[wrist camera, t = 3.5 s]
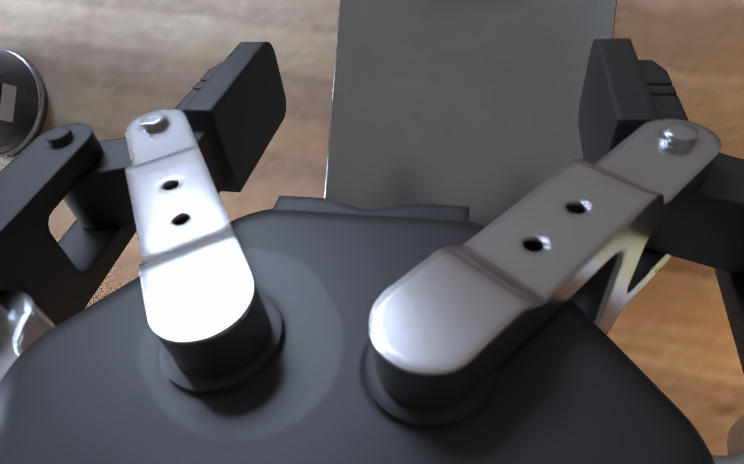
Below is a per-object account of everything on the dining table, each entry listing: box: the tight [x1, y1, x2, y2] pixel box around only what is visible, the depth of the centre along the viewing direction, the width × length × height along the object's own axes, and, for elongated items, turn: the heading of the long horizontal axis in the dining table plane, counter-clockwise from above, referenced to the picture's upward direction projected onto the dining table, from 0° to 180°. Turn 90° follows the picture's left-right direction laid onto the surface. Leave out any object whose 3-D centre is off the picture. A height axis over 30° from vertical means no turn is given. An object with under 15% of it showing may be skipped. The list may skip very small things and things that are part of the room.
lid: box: [324, 0, 617, 226], centre depth 24 cm, size 18×14×6 cm
